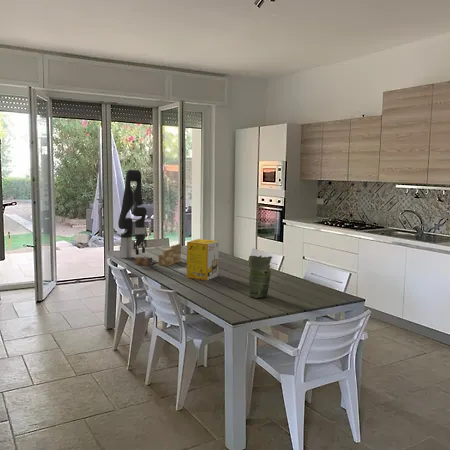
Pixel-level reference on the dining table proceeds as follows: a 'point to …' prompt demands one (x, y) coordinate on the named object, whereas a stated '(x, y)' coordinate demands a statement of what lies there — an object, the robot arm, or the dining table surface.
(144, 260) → the brown rectangular block
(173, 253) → the light wood notched block
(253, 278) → the green vase
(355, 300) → the dining table surface
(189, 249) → the packaging box
